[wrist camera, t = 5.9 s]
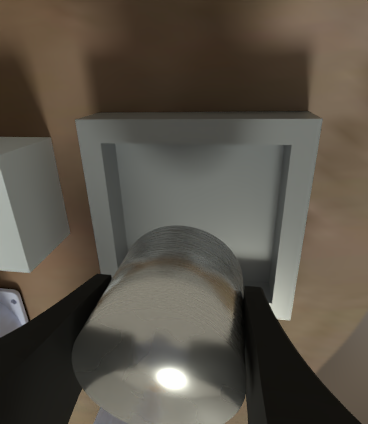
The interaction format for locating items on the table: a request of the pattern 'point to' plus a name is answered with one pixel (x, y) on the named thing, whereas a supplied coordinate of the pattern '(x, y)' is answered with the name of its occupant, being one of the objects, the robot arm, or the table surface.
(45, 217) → the pale upright block
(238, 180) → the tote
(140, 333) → the metal can
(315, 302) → the table surface
